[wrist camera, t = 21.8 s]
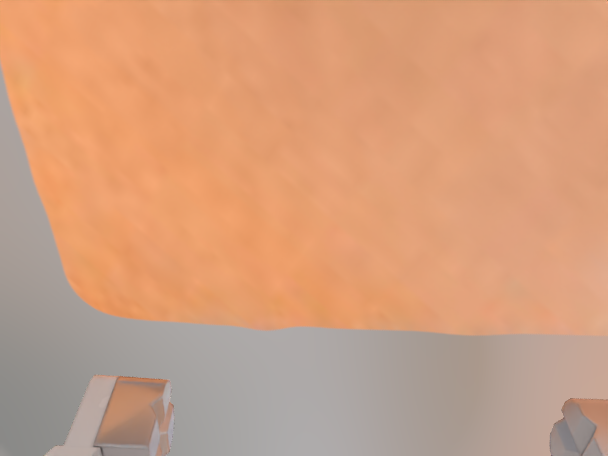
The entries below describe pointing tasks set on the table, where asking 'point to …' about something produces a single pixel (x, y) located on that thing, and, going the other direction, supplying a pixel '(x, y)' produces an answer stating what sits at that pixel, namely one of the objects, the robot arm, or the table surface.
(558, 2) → the table surface
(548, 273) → the table surface
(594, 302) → the table surface
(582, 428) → the robot arm
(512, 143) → the table surface
